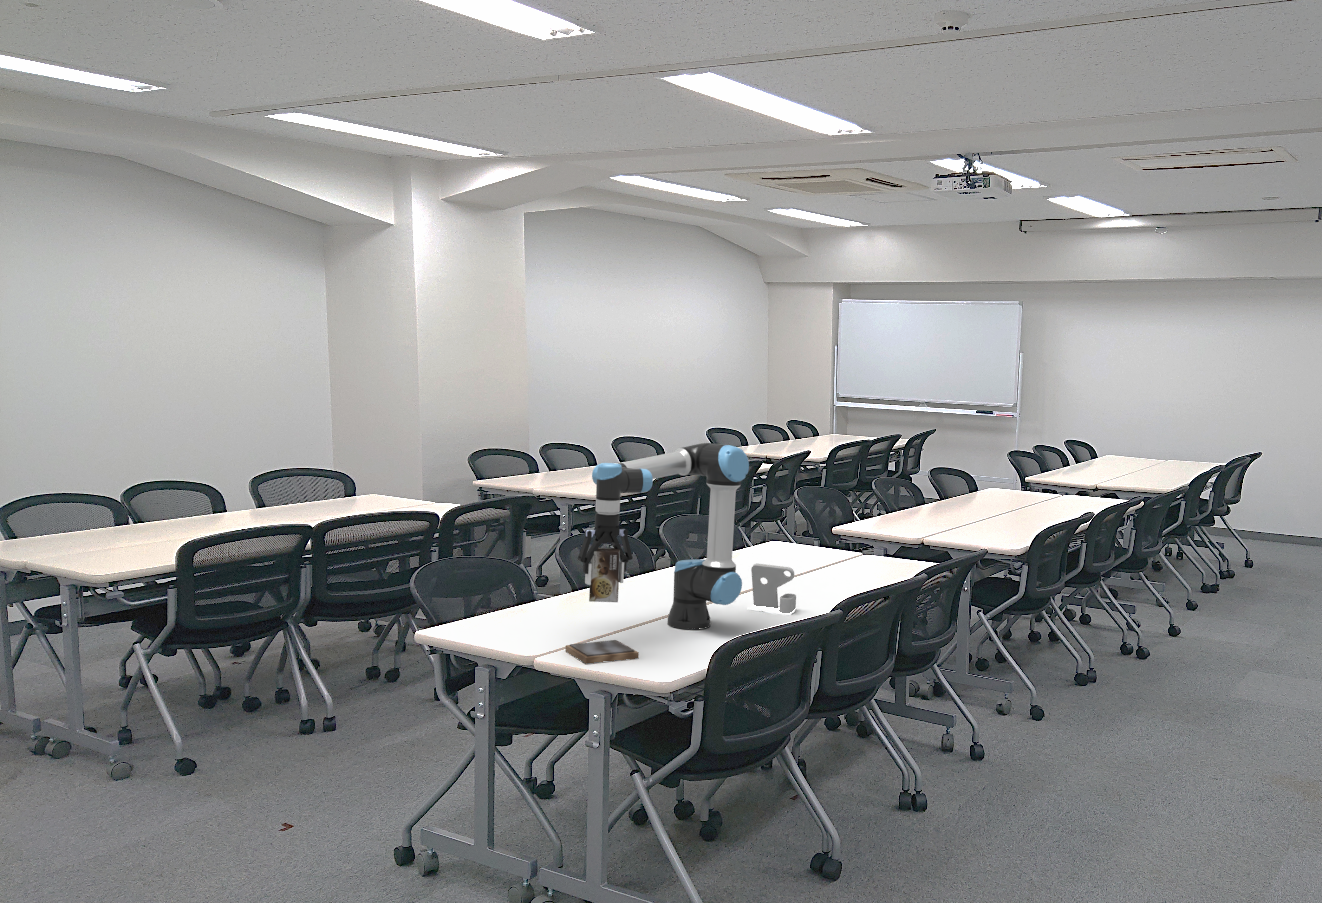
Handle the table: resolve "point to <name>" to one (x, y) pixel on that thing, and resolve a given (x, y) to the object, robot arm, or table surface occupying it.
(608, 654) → the tray
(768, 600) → the grey bracket with cup
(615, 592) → the coffee box
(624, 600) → the table surface
